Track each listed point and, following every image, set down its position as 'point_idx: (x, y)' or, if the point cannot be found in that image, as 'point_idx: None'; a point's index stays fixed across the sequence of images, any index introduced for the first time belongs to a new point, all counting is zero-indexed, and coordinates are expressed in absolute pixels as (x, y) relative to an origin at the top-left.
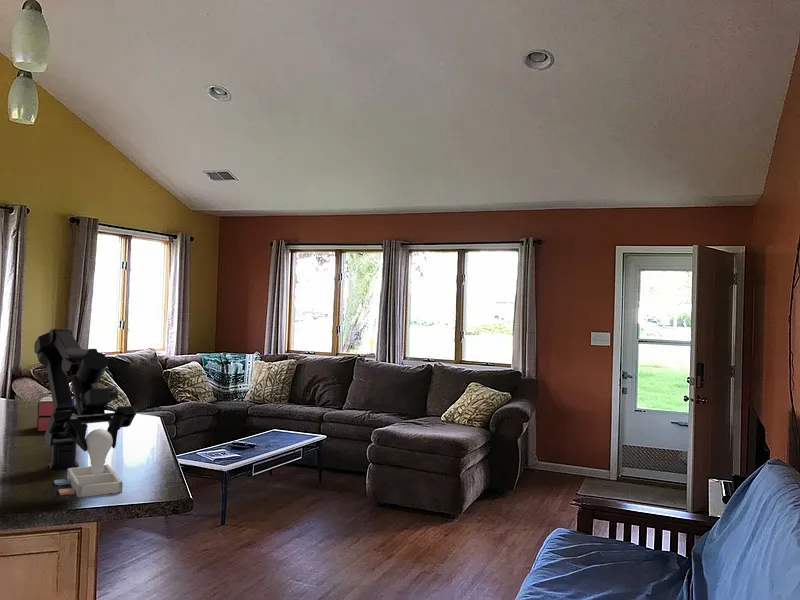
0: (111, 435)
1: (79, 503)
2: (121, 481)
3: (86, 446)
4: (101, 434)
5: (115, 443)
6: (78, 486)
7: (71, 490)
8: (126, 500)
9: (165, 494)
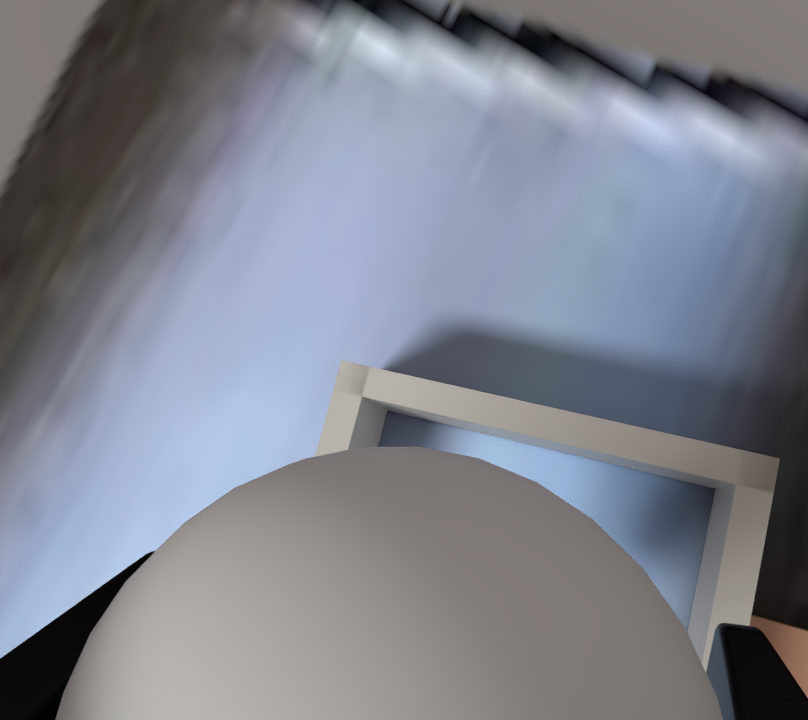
0: (71, 676)
1: (803, 275)
2: (340, 384)
3: (739, 667)
4: (373, 553)
5: (124, 578)
6: (775, 467)
7: None
8: (445, 143)
9: (156, 133)
